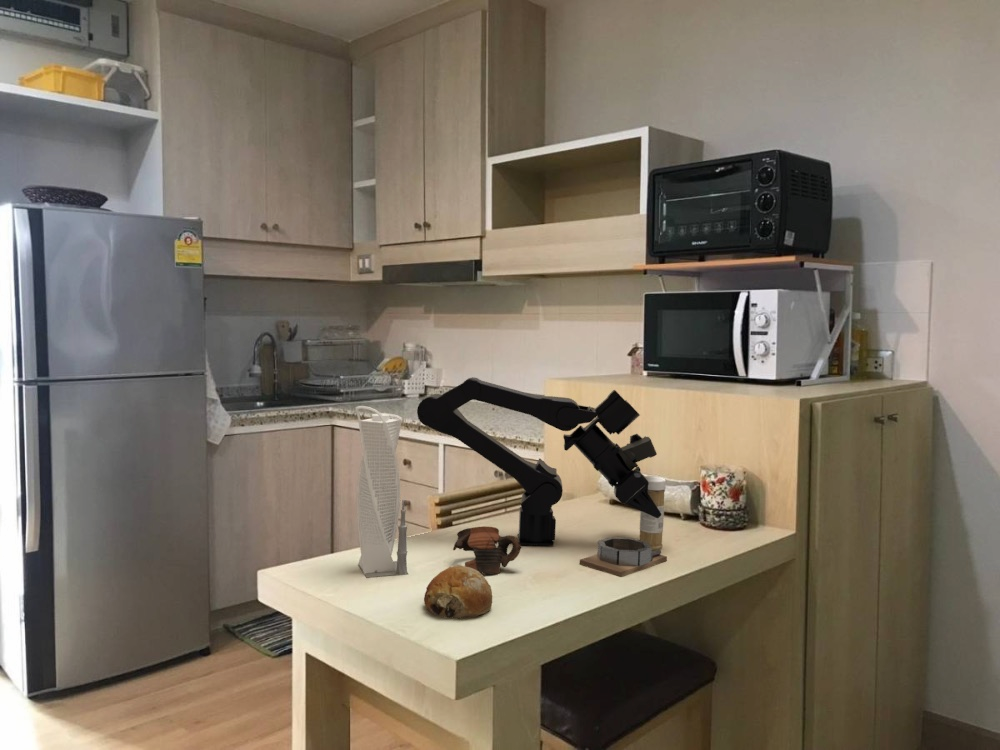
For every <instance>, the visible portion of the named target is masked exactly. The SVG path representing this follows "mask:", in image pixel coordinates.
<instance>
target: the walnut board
mask: <svg viewBox="0 0 1000 750" xmlns="http://www.w3.org/2000/svg"><path fill="white" fill-rule="evenodd" d="M667 559H668V556H667V555H663V554H660V555H657V556H654V557H653V560H652V561H651V562H649V563H646V564H644V565H641V566H619V565H614V564H611V563H607V562H604V561H601V560H600V559H599V557H598V553H596V554H594V555H590V556H588V557H584V558H581V559H579V565H581V564H582V565H581V566H584V565H585V567H587V566H588V568H591V569H594V570H597V571H601V572H604V573H608V574H610V575H614V576H617V577H625V576H628V575H631V574H633V573H637V572H639V571H641V570H644V569H648V568H650V567H653V566H656V565H659V564H661V563H664V562H667V561H668V560H667Z"/></svg>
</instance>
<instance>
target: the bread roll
mask: <svg viewBox="0 0 1000 750" xmlns="http://www.w3.org/2000/svg"><path fill="white" fill-rule="evenodd" d="M423 601H424V606H425V608H426V609H427V611H428V612H430V613H431V614H434V615H435V616H438V617H440V618H447V619H470V618H471V619H473V618H476V617H478V616H481V615H484V614H486V613H488V611H490V610H491V609H492V604H493V590H492V586H491V585H490V584H489V582H488V579H486V577H484V575H483V573H480V572H478V571H477V570H475V569H473V568H470V567H465V565H460V564H459V565H453V566H449V567H447V568H445V569H444V570H442V571H440V572H439V573H438V574H437V575H436V576H434V577H433V578H432V579H431V581H429V583H428V584H427V587H426V591H425V593H424V597H423Z"/></svg>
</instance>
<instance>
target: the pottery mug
mask: <svg viewBox="0 0 1000 750" xmlns="http://www.w3.org/2000/svg"><path fill="white" fill-rule="evenodd" d="M499 532H500V529H499V528H497V527H493V526H477V527H476V526H475V527H468V528H465V529H462V530H459V531H458V532H457V533H456V536H457V540H456V542H455V543H454V545H453V548H452V551H455V550H456V549H459V550H463V552H464V551H465V552H468V551H469V552H473V554H474V559H471V560H467V561H465V563H464V566H465V567H470V568H473V569H475V570H477V571H478V572H480V573H481V574H486V575H489V574H490V575H492V574H493V575H499V574H500V569H501V567H503V568H506V567H507V566H508V564H509V563H510V562H513V561H514V560H515V559H517V557H518V556H519V554H520V552H521V549H522V545H520V541H519V540H518V537H517V536H514V535H504V536H501V535H500V533H499ZM510 545H512V548H511V550H510V552H508V548H509V546H510Z"/></svg>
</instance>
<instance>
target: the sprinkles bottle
mask: <svg viewBox="0 0 1000 750" xmlns="http://www.w3.org/2000/svg"><path fill="white" fill-rule="evenodd" d="M645 478H646V479H647V480H648V482H649V485H648V494H649V495H650V497H651V498H652V500H653V502H654V503H655V505H656V506H657V508H658V509H659V511H660V512H661V514H662V515H661V516H660V517H659V518H655V517H653V516H651V515H649V514H647V513H644V512H642V511H640V515H639V516H640V517H639V518H640V519H639V540H641V541H645V542H648V543H649V545H650V546H651V551H654V550H657V549H660V550H661V549H662V548H663V532H664V519H665V518H664V517H665V492H666V488H667V486H666V483H667V481H666V478H664V477H660V476H645Z"/></svg>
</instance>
